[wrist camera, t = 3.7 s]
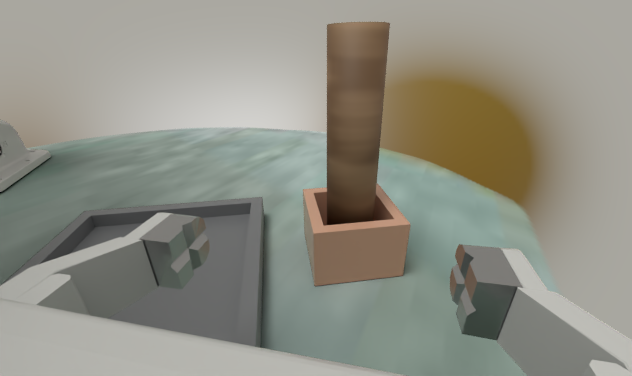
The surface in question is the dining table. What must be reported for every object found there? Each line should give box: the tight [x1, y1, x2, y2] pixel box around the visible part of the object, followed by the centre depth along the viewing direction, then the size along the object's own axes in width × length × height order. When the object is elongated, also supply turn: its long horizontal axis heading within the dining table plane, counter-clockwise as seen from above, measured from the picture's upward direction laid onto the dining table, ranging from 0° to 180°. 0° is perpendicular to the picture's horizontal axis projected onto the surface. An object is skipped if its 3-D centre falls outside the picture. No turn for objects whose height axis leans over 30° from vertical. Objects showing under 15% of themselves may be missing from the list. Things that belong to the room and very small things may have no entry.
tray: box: [0, 197, 264, 348], centre depth 21 cm, size 16×16×2 cm
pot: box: [303, 184, 410, 286], centre depth 23 cm, size 7×7×4 cm
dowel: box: [327, 22, 390, 225], centre depth 20 cm, size 4×4×16 cm
